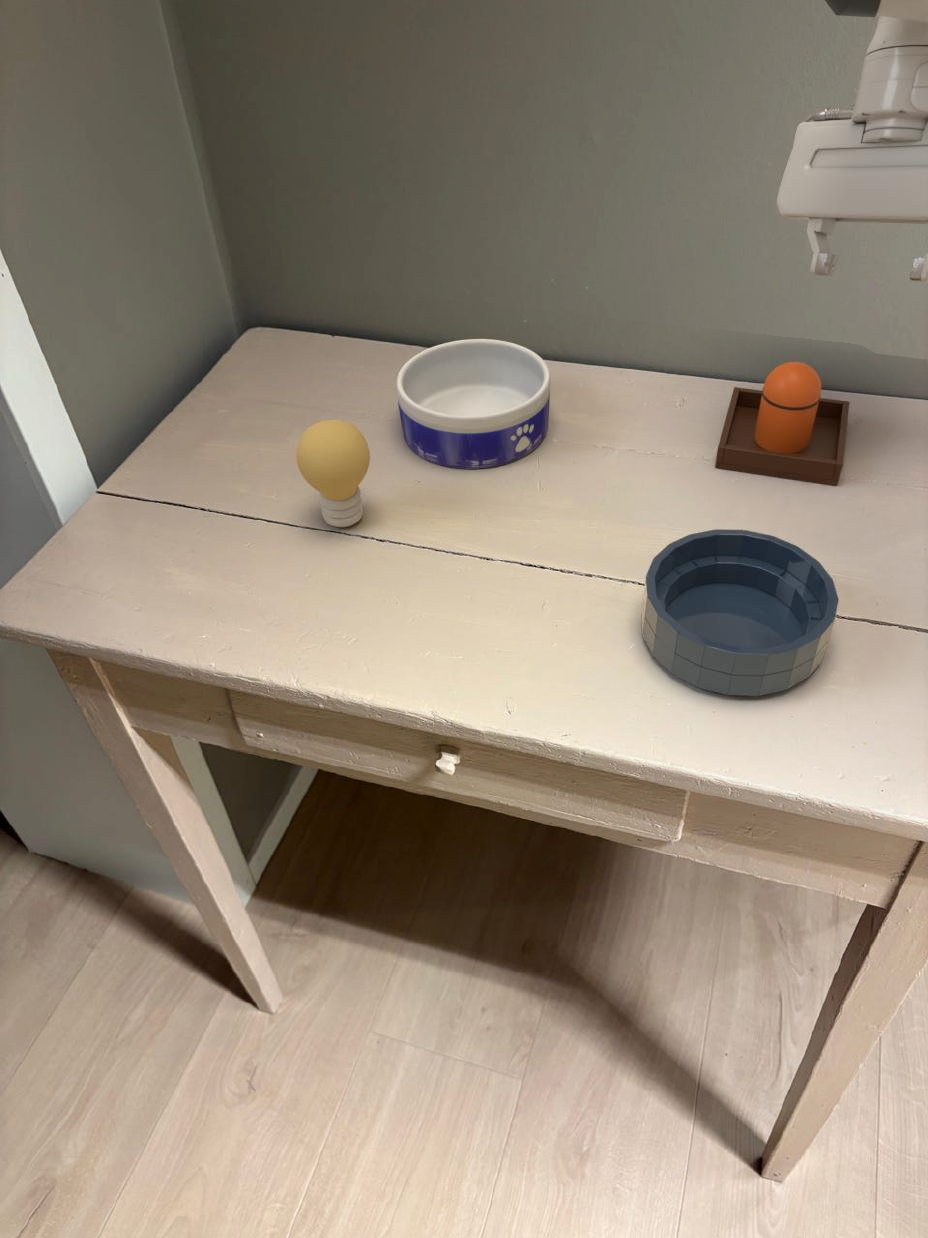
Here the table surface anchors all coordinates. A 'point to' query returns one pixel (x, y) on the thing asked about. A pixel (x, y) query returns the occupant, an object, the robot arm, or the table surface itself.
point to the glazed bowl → (738, 611)
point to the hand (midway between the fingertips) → (869, 278)
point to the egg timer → (788, 408)
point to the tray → (807, 465)
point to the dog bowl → (474, 403)
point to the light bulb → (335, 468)
